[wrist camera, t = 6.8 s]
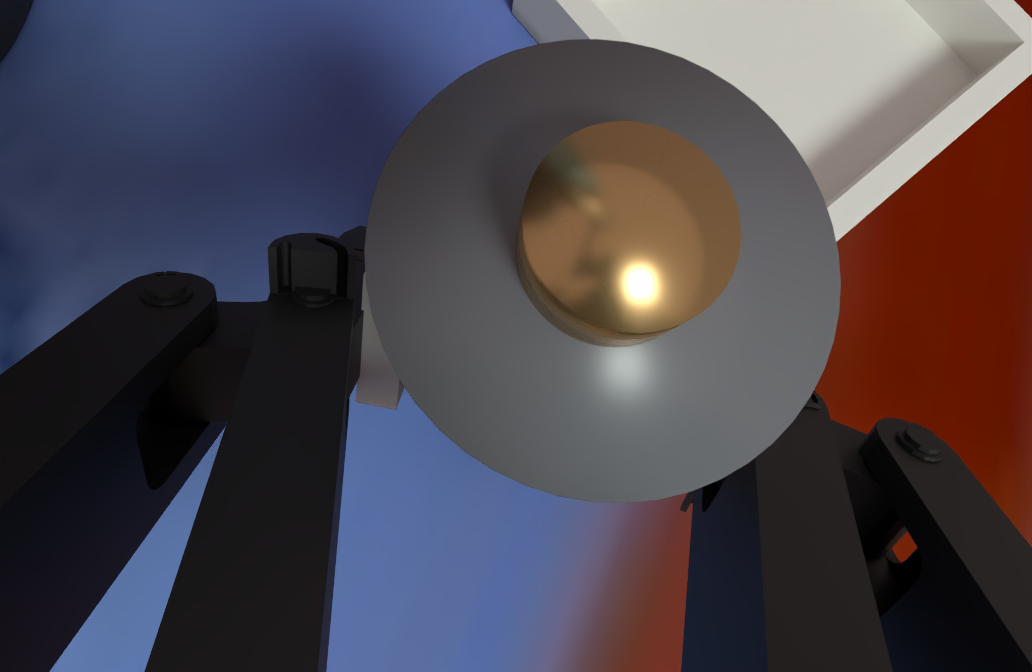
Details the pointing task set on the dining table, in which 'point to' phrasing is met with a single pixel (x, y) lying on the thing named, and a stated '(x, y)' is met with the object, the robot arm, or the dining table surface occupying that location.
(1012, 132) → the dining table surface
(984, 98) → the tray
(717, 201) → the charcoal cell
